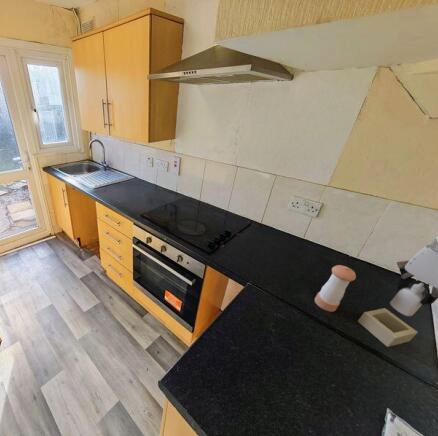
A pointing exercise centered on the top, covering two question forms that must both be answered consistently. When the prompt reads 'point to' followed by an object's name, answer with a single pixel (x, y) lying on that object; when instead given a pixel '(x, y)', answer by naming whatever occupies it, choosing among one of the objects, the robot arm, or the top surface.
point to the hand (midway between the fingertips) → (412, 295)
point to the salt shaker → (334, 288)
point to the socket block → (382, 316)
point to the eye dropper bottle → (408, 299)
